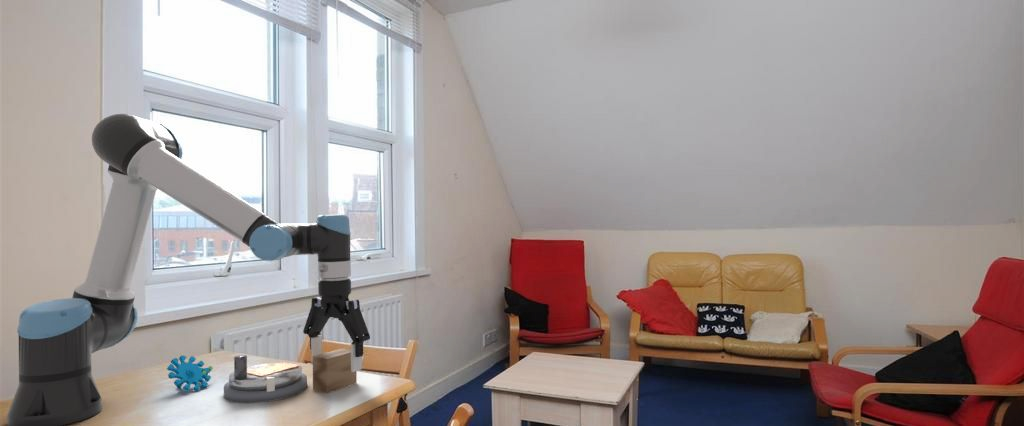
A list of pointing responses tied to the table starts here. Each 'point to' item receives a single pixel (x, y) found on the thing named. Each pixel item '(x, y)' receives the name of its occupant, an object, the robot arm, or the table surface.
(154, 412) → the table surface
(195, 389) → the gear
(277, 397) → the wheel base
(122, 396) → the table surface
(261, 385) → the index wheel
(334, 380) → the link block
